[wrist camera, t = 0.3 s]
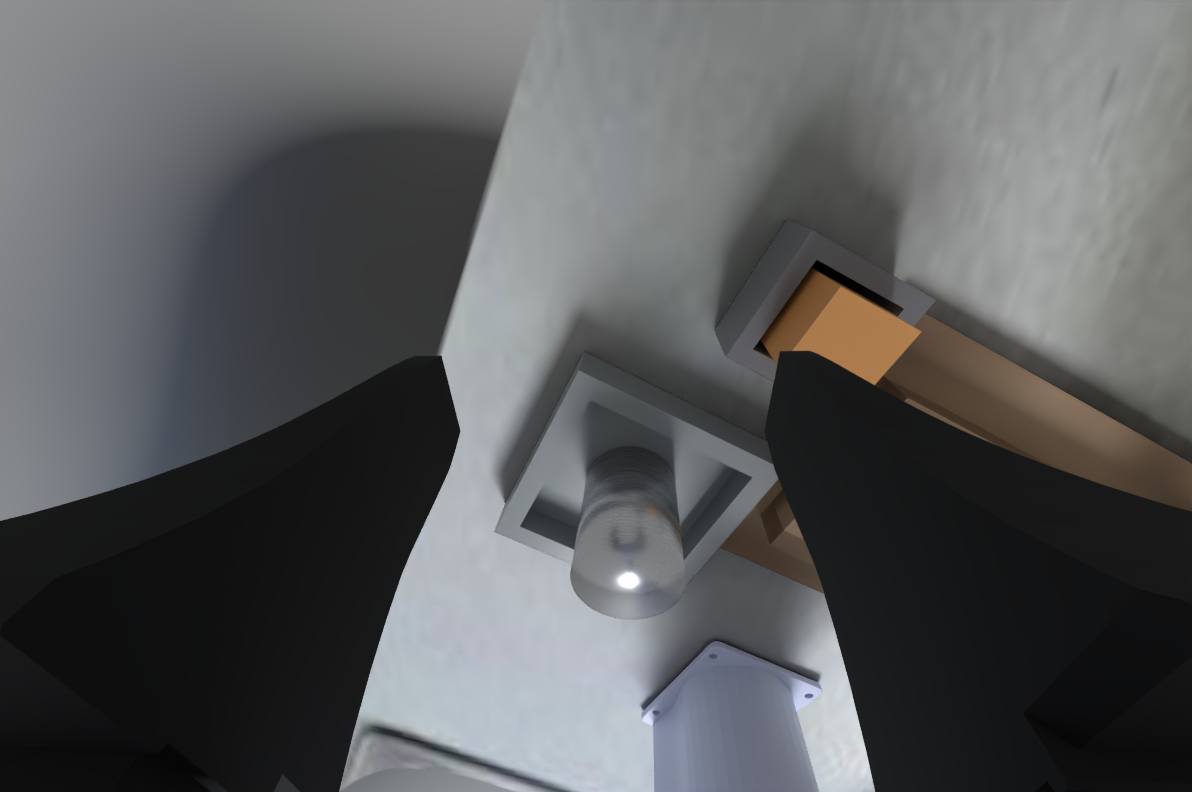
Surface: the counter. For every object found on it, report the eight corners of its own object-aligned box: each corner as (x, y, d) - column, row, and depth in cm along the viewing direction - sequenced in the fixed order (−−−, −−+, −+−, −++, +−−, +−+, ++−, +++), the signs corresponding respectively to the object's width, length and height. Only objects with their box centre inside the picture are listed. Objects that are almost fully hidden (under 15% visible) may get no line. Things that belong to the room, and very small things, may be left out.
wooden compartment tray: (1019, 669, 28) (1059, 724, 25) (713, 531, 25) (721, 576, 22) (1272, 509, 22) (1361, 558, 19) (905, 302, 19) (948, 326, 16)
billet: (647, 529, 25) (649, 633, 19) (571, 496, 24) (552, 593, 19) (692, 469, 23) (708, 566, 17) (611, 431, 22) (601, 519, 17)
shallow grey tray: (666, 574, 27) (668, 605, 25) (504, 504, 25) (494, 532, 24) (773, 444, 22) (785, 470, 20) (584, 351, 21) (579, 370, 19)
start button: (823, 371, 18) (855, 407, 16) (758, 336, 18) (779, 368, 15) (877, 304, 17) (921, 331, 14) (808, 266, 17) (840, 286, 14)
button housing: (812, 380, 21) (837, 413, 18) (714, 330, 20) (725, 357, 17) (893, 279, 19) (936, 300, 16) (786, 218, 18) (812, 229, 15)
